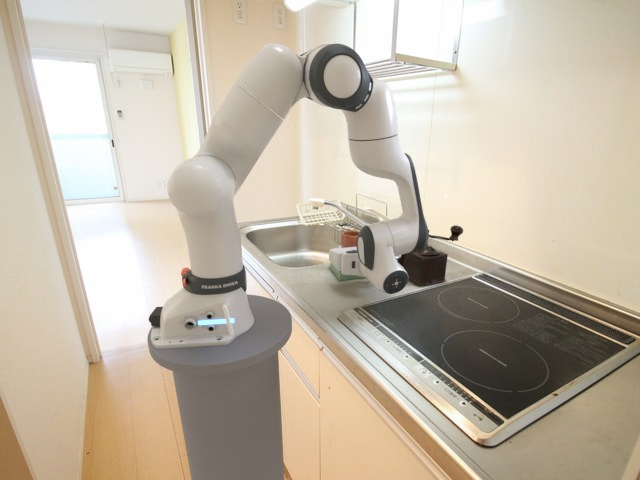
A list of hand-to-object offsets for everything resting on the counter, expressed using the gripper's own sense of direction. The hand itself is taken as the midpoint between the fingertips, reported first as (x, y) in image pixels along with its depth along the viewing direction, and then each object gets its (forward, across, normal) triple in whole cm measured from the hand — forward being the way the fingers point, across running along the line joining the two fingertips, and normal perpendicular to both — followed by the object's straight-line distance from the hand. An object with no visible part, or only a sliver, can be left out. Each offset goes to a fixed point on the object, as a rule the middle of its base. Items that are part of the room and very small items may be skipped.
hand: (354, 246), depth 115 cm
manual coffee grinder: (-8, -24, +10) cm, 27 cm away
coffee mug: (-2, -20, +10) cm, 23 cm away
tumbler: (+3, 0, +8) cm, 8 cm away
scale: (+3, 0, +10) cm, 11 cm away
